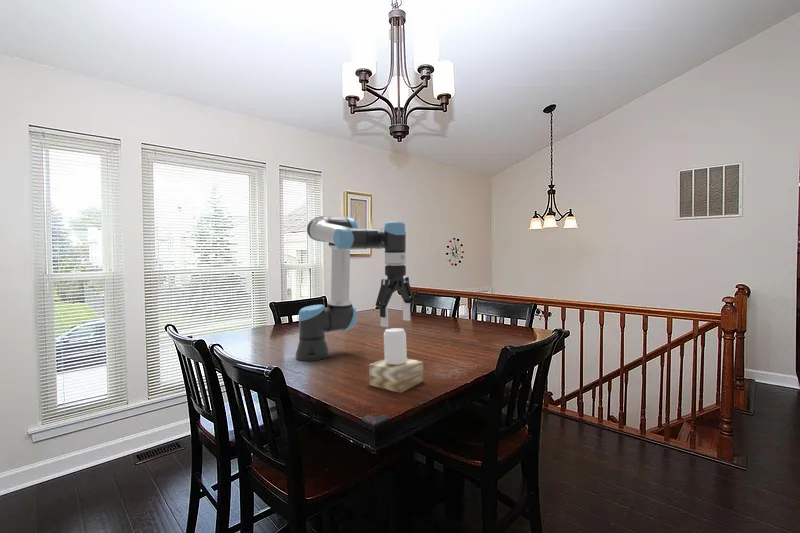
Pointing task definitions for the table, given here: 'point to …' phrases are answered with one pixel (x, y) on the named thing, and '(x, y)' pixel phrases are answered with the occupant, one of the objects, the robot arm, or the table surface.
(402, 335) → the beverage can
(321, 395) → the table surface
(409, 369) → the top slab
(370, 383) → the bottom slab
